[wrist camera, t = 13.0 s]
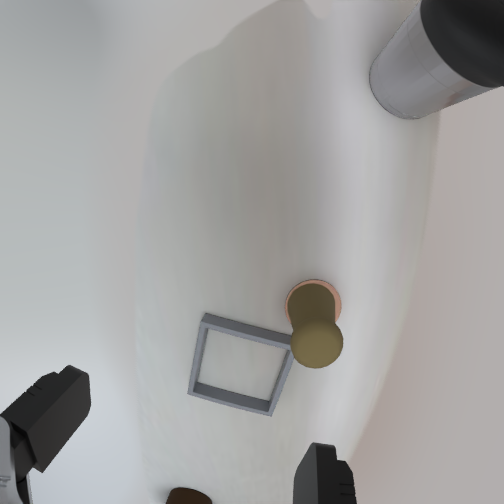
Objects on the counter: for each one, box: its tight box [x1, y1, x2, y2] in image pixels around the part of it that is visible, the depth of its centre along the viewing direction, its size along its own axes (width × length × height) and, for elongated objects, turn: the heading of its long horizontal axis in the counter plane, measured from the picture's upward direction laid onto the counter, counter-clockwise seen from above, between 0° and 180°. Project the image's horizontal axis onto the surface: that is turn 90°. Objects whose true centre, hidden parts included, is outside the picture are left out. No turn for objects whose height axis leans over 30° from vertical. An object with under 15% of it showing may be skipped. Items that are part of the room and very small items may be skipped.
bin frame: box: [187, 313, 294, 416], centre depth 42 cm, size 12×12×2 cm
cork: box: [287, 283, 343, 368], centre depth 34 cm, size 6×6×11 cm
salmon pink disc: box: [285, 280, 341, 323], centre depth 39 cm, size 7×7×1 cm
